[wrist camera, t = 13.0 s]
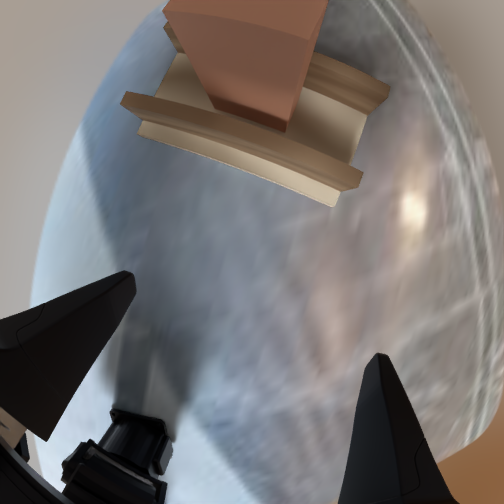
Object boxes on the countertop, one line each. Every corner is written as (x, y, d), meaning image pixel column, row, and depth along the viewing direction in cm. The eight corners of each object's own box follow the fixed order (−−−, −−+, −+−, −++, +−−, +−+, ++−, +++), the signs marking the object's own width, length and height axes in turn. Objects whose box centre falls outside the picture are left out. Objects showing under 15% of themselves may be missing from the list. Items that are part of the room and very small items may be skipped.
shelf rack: (331, 207, 20) (350, 206, 15) (141, 136, 20) (112, 120, 15) (370, 98, 19) (393, 74, 14) (192, 39, 19) (177, 7, 14)
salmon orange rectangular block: (285, 133, 19) (308, 40, 7) (214, 109, 19) (162, 10, 7) (298, 101, 18) (330, -5, 6) (229, 78, 18) (196, -31, 6)
